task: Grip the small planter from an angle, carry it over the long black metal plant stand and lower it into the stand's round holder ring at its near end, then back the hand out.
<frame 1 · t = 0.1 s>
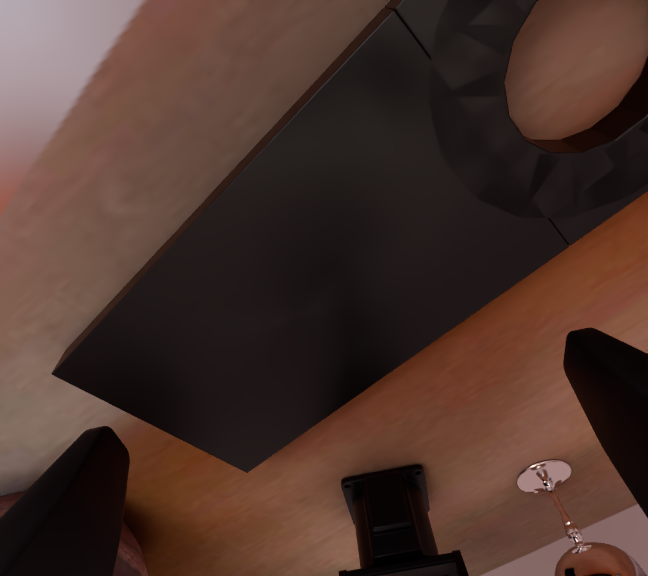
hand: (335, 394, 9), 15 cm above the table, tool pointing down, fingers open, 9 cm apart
wineglass: (542, 474, 37), on the table
plant stand: (375, 224, 23), on the table
pottery: (57, 530, 37), on the table
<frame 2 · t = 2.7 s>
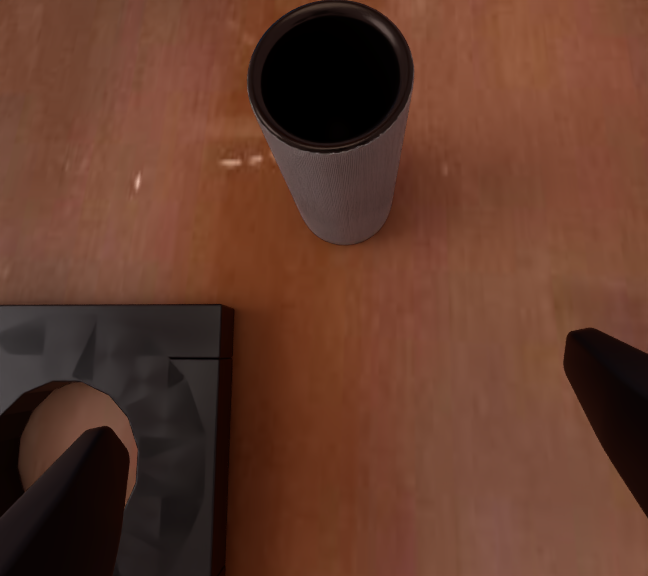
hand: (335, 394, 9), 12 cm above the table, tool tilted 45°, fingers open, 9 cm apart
planter: (345, 202, 22), on the table
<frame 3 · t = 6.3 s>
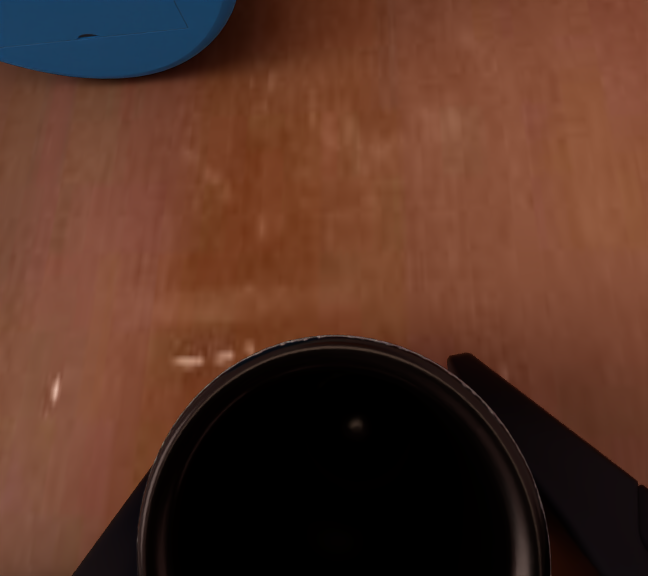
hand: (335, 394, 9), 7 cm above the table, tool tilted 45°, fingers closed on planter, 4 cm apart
planter: (357, 423, 15), on the table, touching gripper
alarm clock: (132, 27, 19), on the table
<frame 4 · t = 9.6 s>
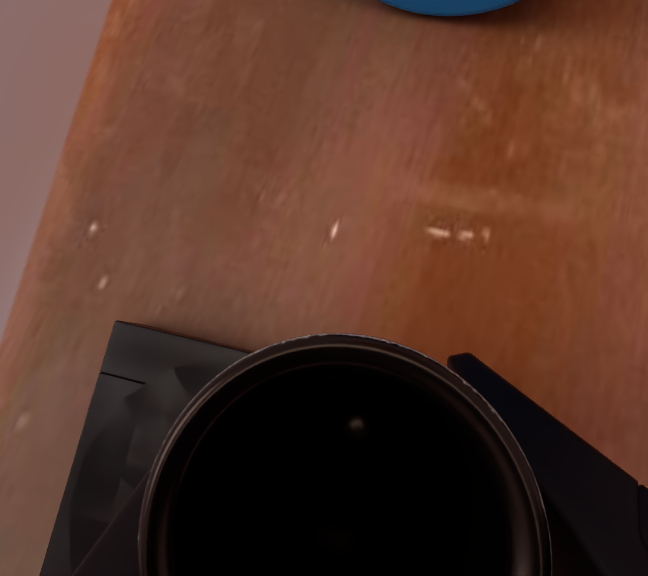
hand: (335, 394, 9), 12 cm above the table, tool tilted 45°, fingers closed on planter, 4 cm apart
planter: (357, 423, 15), point 6 cm above the table, touching gripper
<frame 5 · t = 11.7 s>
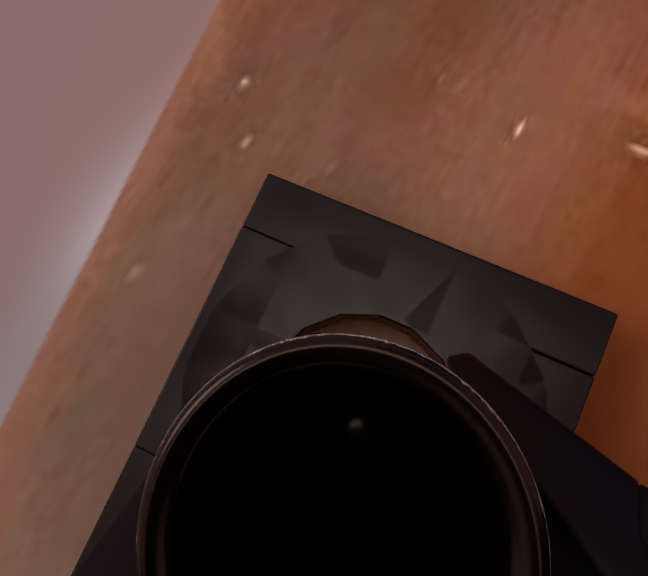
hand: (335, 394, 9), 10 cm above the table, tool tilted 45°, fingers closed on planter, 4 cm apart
planter: (357, 423, 15), point 3 cm above the table, touching gripper
when the fingers open (7 cm above the table, at t = 13.0 s): planter stays where it is, resting in plant stand.
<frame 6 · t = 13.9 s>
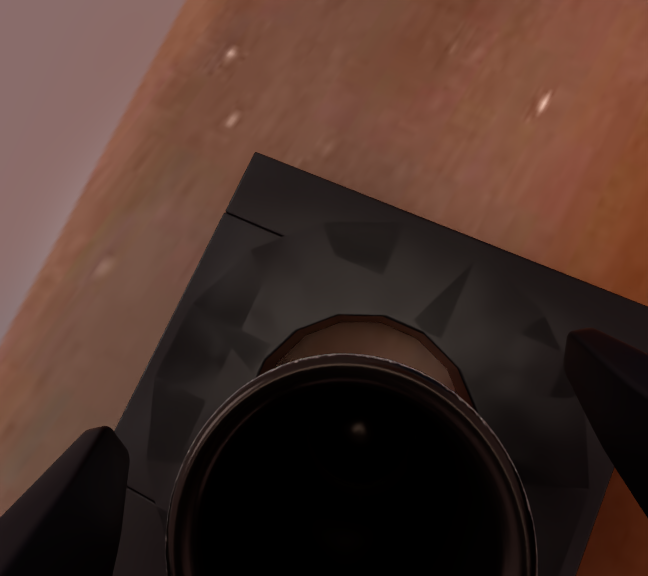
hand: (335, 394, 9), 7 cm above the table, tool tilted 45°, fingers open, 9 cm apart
planter: (359, 427, 16), resting in plant stand
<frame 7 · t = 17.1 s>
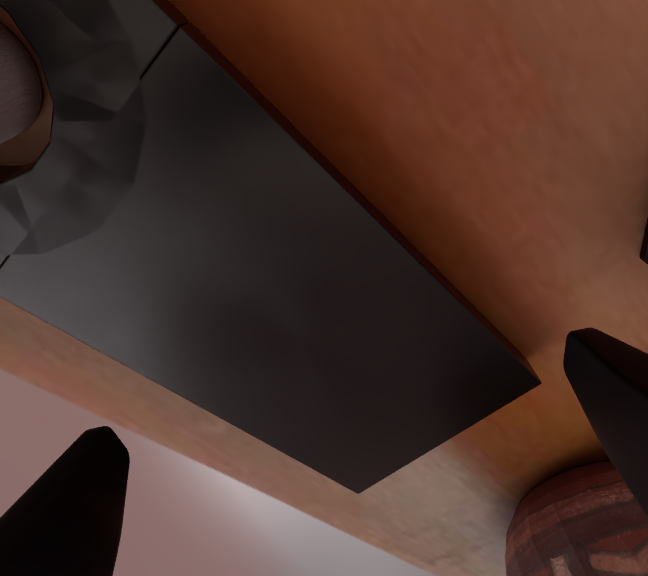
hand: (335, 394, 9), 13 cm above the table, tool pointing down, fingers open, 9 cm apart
plant stand: (211, 252, 21), on the table
pottery: (585, 500, 37), on the table
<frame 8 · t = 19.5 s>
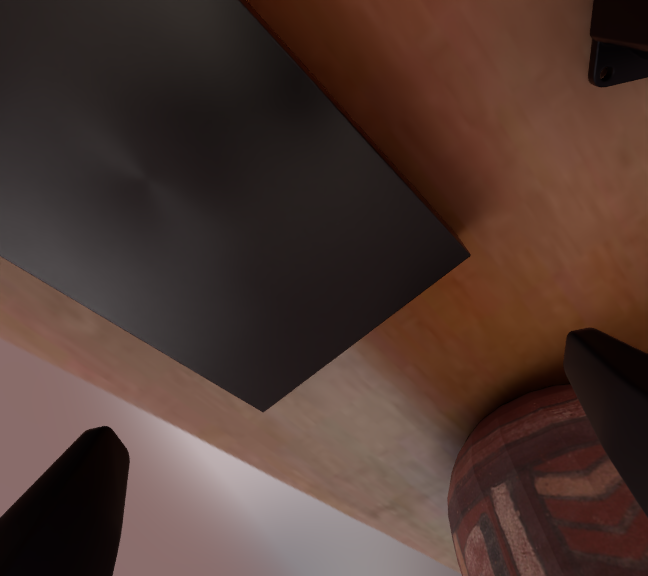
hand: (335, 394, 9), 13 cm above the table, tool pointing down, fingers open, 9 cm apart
plant stand: (22, 51, 16), on the table
pottery: (546, 438, 32), on the table
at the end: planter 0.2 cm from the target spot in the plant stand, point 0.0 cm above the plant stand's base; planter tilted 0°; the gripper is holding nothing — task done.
